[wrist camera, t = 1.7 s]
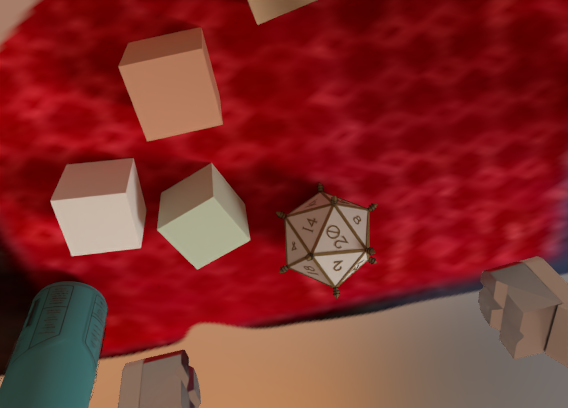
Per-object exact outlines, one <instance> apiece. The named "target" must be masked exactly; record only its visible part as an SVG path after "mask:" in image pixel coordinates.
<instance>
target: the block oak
mask: <svg viewBox="0 0 568 408" xmlns="http://www.w3.org/2000/svg"><path fill="white" fill-rule="evenodd" d="M247 1H248V3H249V6H250V9H251V11H252V13H253V16H254V18H255V20H256V23H257V25H259V24H261V23H264V22H266V21H268V20H271V19H273V18H276V17H278V16H280V15H283V14H285V13H288V12H290V11H292V10H295V9H297V8H299V7H302V6H304V5H307V4H309V3H311V2H314V1H316V0H247Z"/></svg>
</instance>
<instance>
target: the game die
mask: <svg viewBox="0 0 568 408" xmlns="http://www.w3.org/2000/svg"><path fill="white" fill-rule="evenodd" d="M317 188H318V189H317V190H318V191H319V193H317V194H316V195H315V196H313V197H312V198H310V199H309V200H307V201H306V202H305V203H303V204H302V205H300V206H299V207H297V208H296V209H295V210H293V211H292V212H290V213H289V214H287V215H285V214H284V212H282V211H280V212H276V213H277V215H278V217H281V219H282V218H284V220H285V241H286V262H287V265H286V266H283V267H280V268H281V269H280V271H279V273H285V271H287V270H288V269H289V268H290V269H292V270H294V271H296V272H299V273H301V274H303V275H305V276H308V277H310V278H312V279H315V280H317V281H319V282H321V283H324V284H326V285H328V286H330V287H333V295H334V296H335V297H336V299H337V298H338V296H339V294H340V293H339V290H338V286H339V285H341V284H342V283H343V282H344V281H345V280H346V279H347V278H349V277H350V276H351V275H352V274H353V273H354V272H355V271H356V270H358V269H359V268H360V267H361V266H362V265H363V264H364V263H366V262H367V261H369V263H371V264H374V263H377V262H376V259H375V258H372V257H370V255H373V254H374V253H376V252H375V251H374V249H373V248H370V211H373V210H374V209H376V206H377V204H371V205H369V207H368V208H365V207H362V206H360V205H357V204H354V203H352V202H349V201H346V200H344V199H341V198H339V197H336V196H333V195H331V194H328V193H325V192H323V185H322V184H321V183H320V182H319V184H318V186H317Z"/></svg>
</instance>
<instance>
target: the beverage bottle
mask: <svg viewBox="0 0 568 408" xmlns="http://www.w3.org/2000/svg"><path fill="white" fill-rule="evenodd" d="M32 299H33V298H32ZM32 301H33V302H32ZM32 301H31V302H32V305H31V308H30V310H29V313H28V314H27V317H24V318H25V319H26V320H25V321H24V320H23V321H24V322H25V323H24V326H23V329H22V328H21V331H20V332H21V334H20V337H19V339H18V342H17V341H16V342H17V343H16V344H17V345H16V344H15V345H16V346H15V350H14V353H12V355H11V356H12V357H11V361H10V359H9V360H8V361H9V362H10V363H9V362H8V369H7V371H5V370H6V368H7V367H6V368H5V370H4V371H5V372H6V374H5V377H4V379H3V382H2V385H1V387H0V408H88V406H89V401H90V396H91V393H92V389H93V384H94V379H95V376H96V375H97V374H96V372H97V371H96V369H97V363H98V358H99V353H100V348H101V342H102V337H103V332H104V327H105V323H106V322H105V321H106V316H107V310H108V308H107V307H108V306H107V304H106V301H105V299H104V297H103V296H102V294H101V293H100V292H99V291H98V290H96V289H95V288H93V287H91V286H89V285H87V284H84V283H80V282H74V281H62V282H57V283H53V284H50V285H48V286H46V287H44V288H43V289H42V290H41V291H40V292H39V293H37V295H36V296H35V298H34V299H33V300H32ZM27 312H28V310H27ZM27 312H26V313H27ZM108 312H109V310H108ZM107 321H108V320H107ZM21 326H22V325H21ZM106 326H107V324H106ZM105 330H106V328H105ZM18 334H19V333H18ZM104 337H105V332H104ZM104 337H103V341H104ZM102 347H103V343H102ZM12 351H13V349H12ZM101 352H102V348H101ZM100 354H101V353H100ZM100 359H101V358H100ZM6 366H7V365H6ZM95 374H96V375H95ZM2 377H3V376H2Z"/></svg>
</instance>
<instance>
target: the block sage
mask: <svg viewBox="0 0 568 408" xmlns="http://www.w3.org/2000/svg"><path fill="white" fill-rule="evenodd" d="M157 230H158V231H159V232H160V233H161V234H162V235H163V236H164V237H165V238H166V239H167V240H168V241H169V242H170V243H171V244H172V245H173V246H174V247H175V248H176V249H177V250H178V251H179V252H180V253H181V254H182V255H183V256H184V257H185V258H186V259H187V260H188V261H189V262H190V263H191V264H192V265H193V266H194V267H195V268H196V269H199V268H201V267H203V266H205V265H206V264H208V263H210V262H212V261H214V260H215V259H217V258H219V257H221V256H223V255H224V254H226V253H228V252H230V251H232V250H234V249H235V248H237V247H239V246H241V245H243V244H244V243H246V242H248V241H250V235H249V228H248V221H247V215H246V208H245V204H244V202H243V201H242V200H241V199H240V198H239V196H238V195H237V194H236V193H235V191H234V190H233V189H232V188H231V186H230V185H229V184H228V183H227V181H226V180H225V179H224V178H223V176H222V175H221V174H220V173H219V171H218V170H217V169H216V168H215V166H214V165H213V164H212V163H210V164H209V165H207V166H205V167H204V168H202V169H200V170H199V171H197V172H195V173H194V174H192V175H190V176H189V177H187V178H185V179H184V180H182V181H180V182H179V183H177V184H175V185H174V186H172V187H170V188H169V189H167V190H165V191H164V192H162V193H161V198H160V207H159V216H158V225H157Z"/></svg>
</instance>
